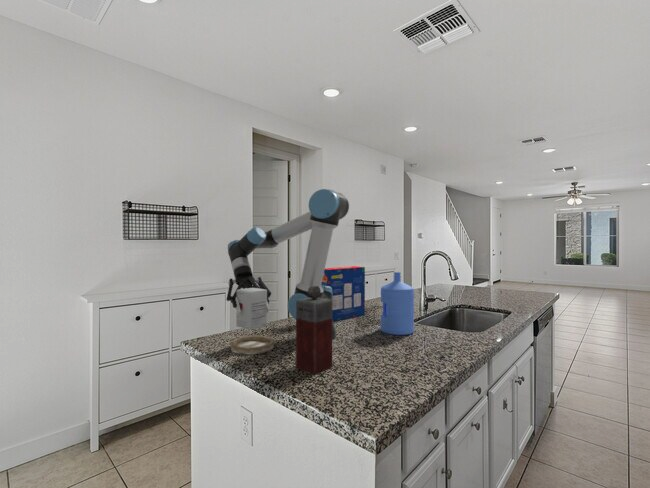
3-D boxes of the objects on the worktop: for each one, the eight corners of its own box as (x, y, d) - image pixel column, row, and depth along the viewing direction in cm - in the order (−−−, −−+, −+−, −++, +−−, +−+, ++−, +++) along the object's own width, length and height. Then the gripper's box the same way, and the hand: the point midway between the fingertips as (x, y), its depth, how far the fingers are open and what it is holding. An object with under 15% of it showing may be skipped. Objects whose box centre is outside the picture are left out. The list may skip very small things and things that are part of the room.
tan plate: (278, 342, 148) (278, 336, 148) (265, 355, 131) (265, 349, 131) (241, 340, 151) (241, 334, 151) (223, 353, 134) (223, 346, 134)
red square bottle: (309, 359, 127) (309, 282, 126) (332, 367, 119) (332, 285, 119) (291, 366, 120) (291, 285, 120) (314, 374, 112) (314, 288, 112)
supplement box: (235, 326, 140) (235, 289, 140) (252, 322, 147) (252, 287, 147) (250, 330, 135) (250, 291, 134) (267, 325, 142) (267, 289, 141)
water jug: (418, 329, 168) (418, 272, 168) (407, 337, 155) (407, 274, 155) (388, 325, 177) (388, 270, 176) (375, 332, 163) (375, 273, 163)
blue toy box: (354, 313, 206) (354, 266, 206) (364, 315, 200) (364, 267, 200) (318, 320, 188) (318, 268, 188) (328, 323, 182) (328, 269, 182)
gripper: (265, 274, 160) (278, 314, 147) (213, 277, 148) (222, 320, 135) (269, 263, 155) (283, 303, 142) (216, 265, 143) (226, 309, 130)
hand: (253, 312), depth 138 cm, fingers closed on supplement box, 11 cm apart
